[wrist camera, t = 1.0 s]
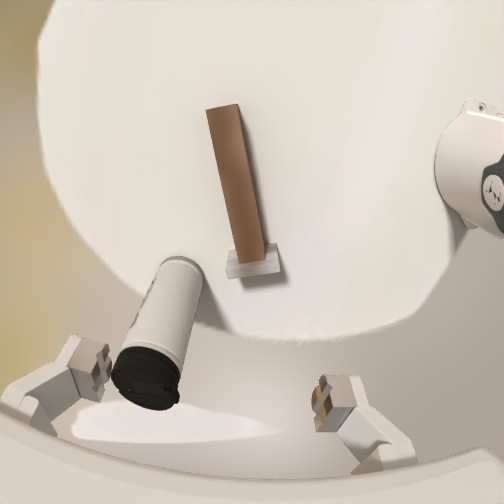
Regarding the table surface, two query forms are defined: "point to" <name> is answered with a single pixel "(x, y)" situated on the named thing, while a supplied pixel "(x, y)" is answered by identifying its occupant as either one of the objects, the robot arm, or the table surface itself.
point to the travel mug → (160, 337)
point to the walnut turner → (239, 196)
